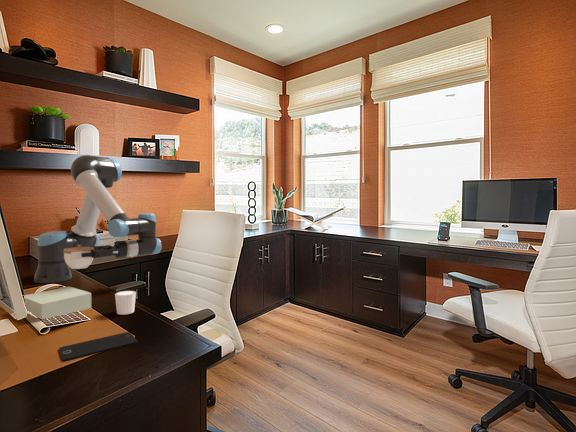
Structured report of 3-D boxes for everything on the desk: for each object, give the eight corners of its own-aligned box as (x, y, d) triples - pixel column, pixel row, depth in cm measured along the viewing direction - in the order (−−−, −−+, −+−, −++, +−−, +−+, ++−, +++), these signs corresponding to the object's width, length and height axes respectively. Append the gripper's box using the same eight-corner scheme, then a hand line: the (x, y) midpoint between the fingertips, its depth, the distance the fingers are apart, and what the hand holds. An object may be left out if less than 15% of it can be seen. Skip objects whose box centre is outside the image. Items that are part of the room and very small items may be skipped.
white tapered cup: (140, 310, 123) (140, 291, 123) (124, 316, 117) (124, 296, 116) (127, 307, 126) (126, 289, 126) (110, 313, 120) (110, 294, 119)
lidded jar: (99, 267, 139) (99, 244, 139) (71, 271, 130) (71, 247, 130) (86, 263, 145) (86, 242, 145) (58, 267, 136) (58, 245, 136)
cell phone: (58, 350, 91) (58, 347, 91) (129, 334, 103) (129, 331, 103) (63, 363, 85) (62, 359, 85) (138, 344, 96) (138, 341, 96)
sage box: (20, 312, 120) (20, 296, 119) (69, 301, 133) (68, 286, 133) (42, 322, 111) (42, 304, 111) (91, 308, 125) (91, 292, 125)
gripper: (135, 260, 142) (75, 267, 127) (116, 253, 159) (61, 259, 143) (135, 243, 142) (75, 248, 126) (116, 237, 158) (61, 241, 143)
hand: (67, 253), depth 135 cm, fingers closed on lidded jar, 11 cm apart
